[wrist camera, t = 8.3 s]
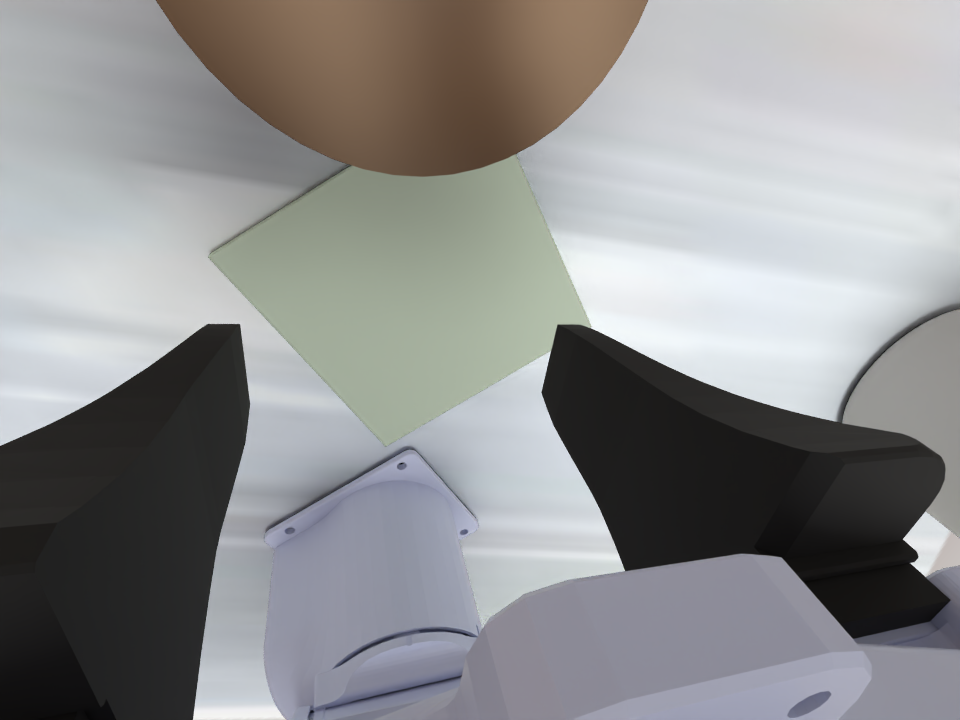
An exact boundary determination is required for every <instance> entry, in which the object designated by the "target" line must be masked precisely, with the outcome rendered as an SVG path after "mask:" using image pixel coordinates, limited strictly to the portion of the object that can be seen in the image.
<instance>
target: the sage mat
mask: <svg viewBox="0 0 960 720" xmlns="http://www.w3.org/2000/svg"><path fill="white" fill-rule="evenodd" d="M208 258H209V259H210V260H211V261H212V262H213V263H214V264H215V265H216V266H217V267H218V268H219V269H220V270H221V272H222V273H223V274H224V275H225V276H226V277H227V278H228V279H229V280H230V281H231V282H232V283H233V284H234V285H235V287H236V288H237V289H238V290H239V291H240V292H241V293H242V294H243V295H244V296H245V297H246V298H247V299H248V300H249V301H250V303H251V304H252V305H253V306H254V307H255V308H256V309H257V310H258V311H259V312H260V313H261V314H262V315H263V316H264V317H265V319H266V320H267V321H268V322H269V323H270V324H271V325H272V326H273V327H274V328H275V329H276V330H277V331H278V332H279V334H280V335H281V336H282V337H283V338H284V339H285V340H286V341H287V342H288V343H289V344H290V345H291V346H292V347H293V348H294V350H295V351H296V352H297V353H298V354H299V355H300V356H301V357H302V358H303V359H304V360H305V361H306V362H307V363H308V364H309V366H310V367H311V368H312V369H313V370H314V371H315V372H316V373H317V374H318V375H319V376H320V377H321V378H322V379H323V380H324V382H325V383H326V384H327V385H328V386H329V387H330V388H331V389H332V390H333V391H334V392H335V393H336V394H337V395H338V397H339V398H340V399H341V400H342V401H343V402H344V403H345V404H346V405H347V406H348V407H349V408H350V409H351V410H352V411H353V413H354V414H355V415H356V416H357V417H358V418H359V419H360V420H361V421H362V422H363V423H364V424H365V425H366V426H367V427H368V429H369V430H370V431H371V432H372V433H373V434H374V435H375V436H376V437H377V438H378V439H379V440H380V441H381V442H382V444H383V445H384V446H385V447H386V446H388V445H390V444H391V443H393V442H395V441H396V440H398V439H400V438H402V437H403V436H405V435H407V434H409V433H410V432H412V431H414V430H415V429H417V428H419V427H421V426H422V425H424V424H426V423H427V422H429V421H431V420H433V419H434V418H436V417H438V416H439V415H441V414H443V413H445V412H446V411H448V410H450V409H451V408H453V407H455V406H457V405H458V404H460V403H462V402H464V401H465V400H467V399H469V398H470V397H472V396H474V395H476V394H477V393H479V392H481V391H482V390H484V389H486V388H488V387H489V386H491V385H493V384H494V383H496V382H498V381H500V380H501V379H503V378H505V377H506V376H508V375H510V374H512V373H513V372H515V371H517V370H519V369H520V368H522V367H524V366H525V365H527V364H529V363H531V362H532V361H534V360H536V359H537V358H539V357H541V356H543V355H544V354H546V353H548V352H549V351H551V350H552V345H553V341H554V337H555V332H556V328H557V324H580V325H583V326H586V327H588V328H591V327H592V326H591V324H590V322H589V320H588V317H587V315H586V313H585V311H584V308H583V306H582V304H581V301H580V299H579V297H578V295H577V292H576V290H575V288H574V286H573V283H572V281H571V279H570V276H569V274H568V272H567V270H566V267H565V265H564V263H563V261H562V258H561V256H560V254H559V251H558V249H557V247H556V245H555V242H554V240H553V238H552V236H551V233H550V231H549V229H548V226H547V224H546V222H545V220H544V217H543V215H542V213H541V211H540V208H539V206H538V204H537V201H536V199H535V197H534V195H533V192H532V190H531V188H530V186H529V183H528V181H527V179H526V176H525V174H524V172H523V170H522V167H521V165H520V163H519V161H518V158H517V156H516V154H515V155H513V156H511V157H509V158H507V159H504V160H502V161H499V162H496V163H494V164H491V165H488V166H485V167H483V168H480V169H475V170H471V171H466V172H462V173H457V174H453V175H441V176H428V177H417V176H399V175H390V174H385V173H380V172H375V171H370V170H364V169H361V168H358V167H355V166H352V165H351V166H349V167H348V168H346V169H344V170H343V171H341V172H340V173H338V174H337V175H335V176H333V177H332V178H330V179H329V180H327V181H325V182H324V183H322V184H321V185H319V186H317V187H316V188H314V189H313V190H311V191H309V192H308V193H306V194H305V195H303V196H301V197H300V198H298V199H297V200H295V201H293V202H292V203H290V204H289V205H287V206H285V207H284V208H282V209H281V210H279V211H277V212H276V213H274V214H273V215H271V216H269V217H268V218H266V219H265V220H263V221H261V222H260V223H258V224H257V225H255V226H253V227H252V228H250V229H249V230H247V231H246V232H244V233H242V234H241V235H239V236H238V237H236V238H234V239H233V240H231V241H230V242H228V243H226V244H225V245H223V246H222V247H220V248H218V249H217V250H215V251H214V252H212V253H210V255H209V257H208Z"/></svg>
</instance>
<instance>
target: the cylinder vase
mask: <svg viewBox="0 0 960 720" xmlns="http://www.w3.org/2000/svg"><path fill="white" fill-rule="evenodd" d="M842 423H844V424H849V425H855V426H861V427H867V428H873V429H878V430H884V431H890V432H896V433H902V434H905V435H908V436H910V437H912V438H915V439H917V440H918V441H920V442H921V443H923V444H924V445H926V446H927V447H928V448H930V449H931V450H933V451H934V452H936V453H937V454H939V455H940V456H941V457H942V459H943V461H944V463H945V468H946V471H945V481H944V483H943V485H942V488H941V490H940V492H939V493H938V495H937V496H936V498H935V499H934V501H933V502H932V504H931V505H930V506H929V507H928V509H927V510H926V512H927V513H928V514H930V515H931V516H932V517H933V518H935V519H936V520H937V521H939V522H940V523H941V524H942V525H944V526H945V527H946V528H947V529H949V530H950V531H951V532H952V533H954V534H955V535H956V536H957V537H959V538H960V309H957V310H954V311H950V312H948V313H945V314H942V315H940V316H937V317H935V318H933V319H931V320H929V321H927V322H925V323H923V324H922V325H920V326H918V327H917V328H915V329H913V330H912V331H910V332H909V333H908V334H906V335H905V336H903V337H902V338H901V339H899V340H898V341H897V342H896V343H894V344H893V345H892V346H891V347H890V348H889V349H888V350H886V351H885V352H884V353H883V354H882V355H881V356H880V357H879V358H878V359H877V360H876V361H875V362H874V364H873V365H872V366H871V367H870V368H869V369H868V370H867V372H866V373H865V374H864V376H863V377H862V378H861V380H860V381H859V383H858V384H857V386H856V387H855V389H854V391H853V392H852V394H851V396H850V398H849V401H848V403H847V405H846V408H845V411H844V415H843V421H842Z"/></svg>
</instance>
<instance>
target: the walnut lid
mask: <svg viewBox="0 0 960 720" xmlns="http://www.w3.org/2000/svg"><path fill="white" fill-rule="evenodd" d="M156 1H157V3H158V4H159V6H160V7H161V9H162V10H163V12H164V13H165V15H166V16H167V18H168V19H169V21H170V22H171V24H172V25H173V27H174V28H175V30H176V31H177V33H178V34H179V35H180V36H181V37H182V39H183V40H184V41H185V42H186V43H187V45H188V46H189V47H190V48H191V49H192V51H193V52H194V53H195V54H196V56H197V57H198V58H199V59H200V60H201V62H202V63H203V64H204V65H205V66H206V68H207V69H208V70H209V71H210V72H211V73H212V74H213V75H214V76H215V77H216V78H217V79H218V80H219V81H220V82H221V83H222V84H223V85H224V86H225V87H226V88H227V89H228V90H229V91H230V92H231V93H232V94H233V95H235V96H236V97H237V98H238V99H239V100H240V101H241V102H242V103H244V104H245V105H246V106H247V107H249V108H250V109H251V110H252V111H254V112H255V113H256V114H257V115H259V116H260V117H261V118H262V119H264V120H265V121H266V122H267V123H269V124H270V125H272V126H273V127H275V128H276V129H278V130H280V131H281V132H283V133H284V134H286V135H288V136H289V137H291V138H292V139H294V140H295V141H297V142H299V143H300V144H302V145H304V146H306V147H308V148H310V149H313V150H315V151H317V152H319V153H321V154H323V155H325V156H327V157H329V158H331V159H334V160H337V161H340V162H343V163H346V164H349V165H352V166H355V167H358V168H361V169H364V170H370V171H375V172H380V173H385V174H390V175H399V176H417V177H428V176H441V175H453V174H457V173H462V172H466V171H471V170H475V169H480V168H483V167H485V166H488V165H491V164H494V163H496V162H499V161H502V160H504V159H507V158H509V157H511V156H513V155H515V154H517V153H518V152H520V151H522V150H524V149H526V148H528V147H530V146H532V145H533V144H535V143H536V142H538V141H539V140H540V139H542V138H543V137H545V136H546V135H547V134H549V133H550V132H552V131H553V130H554V129H556V128H557V127H558V126H559V125H561V124H562V123H563V122H564V121H565V120H566V119H567V118H568V117H569V116H570V115H572V114H573V113H574V112H575V111H576V110H577V109H578V108H579V107H580V106H581V105H582V104H583V103H584V102H585V101H586V99H587V98H588V97H589V96H590V95H591V94H592V93H593V91H594V90H595V89H596V88H597V87H598V86H599V84H600V83H601V82H602V81H603V79H604V78H605V76H606V75H607V74H608V72H609V71H610V69H611V68H612V66H613V65H614V64H615V62H616V61H617V59H618V58H619V56H620V55H621V53H622V51H623V50H624V48H625V46H626V44H627V42H628V41H629V39H630V37H631V35H632V33H633V32H634V30H635V28H636V26H637V24H638V23H639V20H640V18H641V16H642V13H643V11H644V9H645V6H646V4H647V2H648V0H156Z"/></svg>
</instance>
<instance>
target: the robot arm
mask: <svg viewBox="0 0 960 720" xmlns="http://www.w3.org/2000/svg"><path fill="white" fill-rule="evenodd" d="M542 395H543V398H544V401H545V404H546V407H547V410H548V412H549V415H550V417H551V420H552V422H553V425H554V427H555V429H556V431H557V432H558V434H559V436H560V438H561V440H562V441H563V443H564V445H565V447H566V449H567V450H568V452H569V454H570V456H571V458H572V459H573V461H574V463H575V465H576V466H577V468H578V470H579V472H580V473H581V475H582V477H583V479H584V480H585V482H586V484H587V486H588V487H589V489H590V491H591V493H592V494H593V496H594V498H595V500H596V502H597V504H598V506H599V508H600V510H601V513H602V515H603V517H604V520H605V522H606V524H607V527H608V529H609V531H610V534H611V536H612V538H613V541H614V543H615V546H616V548H617V551H618V553H619V556H620V559H621V561H622V564H623V566H624V569H625V571H624V572H618V573H611V574H605V575H598V576H591V577H585V578H578V579H572V580H567V581H563V582H560V583H557V584H554V585H551V586H548V587H545V588H541V589H538V590H535V591H532V592H529V593H526V594H524V595H522V596H521V597H519V598H518V599H517V600H515V601H514V602H512V603H511V604H509V605H508V606H506V607H505V608H504V609H502V610H501V611H499V612H498V613H496V614H495V615H493V616H492V617H491V618H489V620H488V621H487V623H486V624H485V626H484V628H483V629H482V625H481V622H480V618H479V614H478V610H477V606H476V602H475V599H474V595H473V591H472V587H471V583H470V580H469V576H468V572H467V568H466V564H465V560H464V557H463V553H462V549H461V545H460V541H459V540H461V539H463V538H465V537H466V536H468V535H470V534H472V533H473V532H475V531H476V530H477V529H478V528H479V524H478V521H477V519H476V518H475V517H474V516H473V515H472V514H471V513H470V511H469V510H468V509H467V508H466V507H465V506H464V505H463V504H462V502H461V501H460V500H459V499H458V498H457V497H456V496H455V495H454V493H453V492H452V491H451V490H450V489H449V488H448V487H447V486H446V484H445V483H444V482H443V481H442V480H441V479H440V478H439V476H438V475H437V474H436V473H435V472H434V471H433V470H432V469H431V467H430V466H429V465H428V464H427V463H426V462H425V461H424V460H423V458H422V457H421V456H420V455H419V454H418V453H417V452H416V451H414V450H407V451H404V452H402V453H401V454H399V455H397V456H395V457H394V458H392V459H390V460H389V461H387V462H385V463H383V464H382V465H380V466H378V467H376V468H375V469H373V470H371V471H370V472H368V473H366V474H364V475H363V476H361V477H359V478H357V479H356V480H354V481H352V482H351V483H349V484H347V485H345V486H344V487H342V488H340V489H338V490H337V491H335V492H333V493H332V494H330V495H328V496H326V497H325V498H323V499H321V500H320V501H318V502H316V503H314V504H313V505H311V506H309V507H307V508H306V509H304V510H302V511H301V512H299V513H297V514H295V515H294V516H292V517H290V518H288V519H287V520H285V521H283V522H282V523H280V524H278V525H276V526H275V527H273V528H271V529H269V530H268V531H267V532H266V533H265V536H264V542H265V543H266V544H267V545H269V546H270V547H272V548H273V549H274V556H273V566H272V575H271V585H270V594H269V604H268V613H267V623H266V633H265V642H264V666H265V672H266V678H267V682H268V686H269V689H270V692H271V695H272V698H273V700H274V702H275V704H276V706H277V708H278V710H279V711H280V713H281V714H282V715H283V717H284V718H285V719H286V720H960V566H954V567H949V568H943V569H941V570H938V571H935V572H934V573H932V574H930V575H929V576H927V577H925V576H924V575H922V574H921V573H920V572H919V571H918V570H917V569H916V568H915V567H914V566H912V565H911V564H910V563H912V562H915V561H916V560H917V558H918V554H917V552H916V551H915V550H914V549H913V548H912V547H911V546H910V545H908V544H907V543H906V542H905V541H904V540H903V538H904V537H905V536H906V534H907V533H908V532H909V531H910V530H911V528H912V527H913V526H914V525H915V523H916V522H917V521H918V520H919V518H920V517H921V516H922V515H923V514H924V512H925V511H926V510H927V509H928V507H929V506H930V505H931V504H932V502H933V501H934V499H935V498H936V496H937V495H938V493H939V492H940V490H941V488H942V485H943V483H944V481H945V471H946V468H945V463H944V461H943V459H942V457H941V456H940V455H939V454H937V453H936V452H934V451H933V450H931V449H930V448H928V447H927V446H926V445H924V444H923V443H921V442H920V441H918V440H917V439H915V438H912V437H910V436H908V435H905V434H902V433H896V432H890V431H884V430H878V429H873V428H867V427H861V426H855V425H849V424H844V423H839V422H834V421H830V420H825V419H821V418H816V417H812V416H808V415H803V414H799V413H795V412H792V411H788V410H784V409H780V408H777V407H773V406H770V405H767V404H763V403H760V402H757V401H754V400H750V399H747V398H744V397H741V396H738V395H735V394H732V393H730V392H727V391H724V390H722V389H719V388H716V387H714V386H711V385H708V384H706V383H703V382H701V381H698V380H696V379H694V378H691V377H689V376H687V375H685V374H683V373H680V372H678V371H676V370H674V369H672V368H669V367H667V366H665V365H663V364H661V363H659V362H657V361H655V360H653V359H651V358H649V357H647V356H645V355H643V354H641V353H639V352H637V351H635V350H633V349H631V348H629V347H628V346H626V345H624V344H622V343H620V342H618V341H616V340H614V339H612V338H610V337H608V336H606V335H604V334H602V333H600V332H598V331H595V330H593V329H591V328H588V327H586V326H583V325H580V324H557V328H556V332H555V337H554V341H553V345H552V350H551V354H550V358H549V363H548V367H547V371H546V376H545V380H544V384H543V389H542ZM249 408H250V401H249V393H248V385H247V377H246V369H245V360H244V352H243V344H242V336H241V328H240V324H207V325H206V326H204V327H202V328H201V329H200V330H198V331H197V332H195V333H194V334H193V335H191V336H190V337H189V338H187V339H186V340H185V341H183V342H182V343H181V344H179V345H178V346H177V347H175V348H174V349H173V350H171V351H170V352H169V353H167V354H166V355H164V356H163V357H162V358H160V359H159V360H158V361H156V362H155V363H153V364H152V365H151V366H149V367H148V368H146V369H145V370H143V371H142V372H140V373H139V374H137V375H135V376H134V377H132V378H131V379H129V380H128V381H126V382H125V383H123V384H122V385H120V386H118V387H117V388H115V389H114V390H112V391H111V392H109V393H107V394H106V395H104V396H102V397H101V398H99V399H97V400H95V401H94V402H92V403H90V404H88V405H86V406H85V407H83V408H81V409H79V410H77V411H75V412H73V413H71V414H69V415H67V416H65V417H63V418H61V419H59V420H57V421H55V422H53V423H51V424H49V425H47V426H45V427H43V428H40V429H38V430H36V431H33V432H31V433H29V434H27V435H24V436H22V437H20V438H17V439H15V440H13V441H11V442H8V443H6V444H4V445H1V446H0V720H193V714H194V706H195V698H196V690H197V682H198V674H199V666H200V658H201V650H202V643H203V636H204V629H205V622H206V615H207V608H208V600H209V594H210V588H211V581H212V575H213V568H214V562H215V556H216V550H217V546H218V542H219V537H220V533H221V529H222V525H223V522H224V518H225V515H226V511H227V507H228V504H229V500H230V497H231V493H232V490H233V486H234V482H235V479H236V475H237V472H238V468H239V464H240V461H241V457H242V453H243V449H244V446H245V441H246V433H247V425H248V417H249ZM401 462H403V463H404V464H402V465H398V464H399V463H401ZM463 529H464V530H463Z"/></svg>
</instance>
